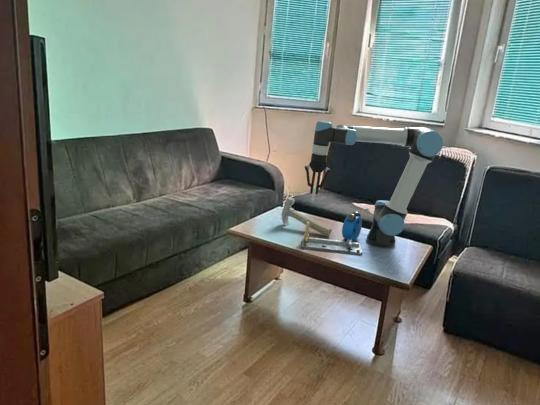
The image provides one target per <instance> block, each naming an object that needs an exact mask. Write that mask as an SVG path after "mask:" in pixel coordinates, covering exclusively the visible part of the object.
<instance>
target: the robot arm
mask: <svg viewBox="0 0 540 405" xmlns="http://www.w3.org/2000/svg"><path fill="white" fill-rule="evenodd" d="M356 142H361V143H376V144H378V143H379V144H391V145H392V144H393V145H401V146H402V147H405V148H406V147H408V148H410V149H409V150H408V154H409V159H408V161H407V163H406V165H405V167H404V170H403V172H402V174H401V176H400V178H399V180H398V182H397V185H396V187H395V188H394V191H393V194H392V196H391V197H390V200H383V199H382V200H381V199H380V200H376V201H375V204H374V210H373V217H372V222H371V223H372V224H371V227H370V230H369V232H368V233H367V235H366V239H365V241H366V242H367V243H368V244H370V245H372V246H374V247H378V248H384V249H385V248H393V247H395V246H396V242H397V241H396V236H397V235H399V234H400V233H402V231H403V230H404V228H405V219H406V217H407V215H408V213H409V212H408V209H407V208H408V206H409V204H410V202H411V199H412V197H413V195H414V193H415V192H416V188H417V187H418V184H419V182H420V180H421V178H422V176H423V175H424V172H425V170H426V169H427V165H428V164H430V163H432V162H433V160H434V158H435V156H437V155H438V154H439V153H440V152H441V151H442V150H443V147H444V141H443V137H442V135H441V134H440V133H439V132H438V131H436V130H434V129H432V128H429V127H426V126H420V127H419V126H418V127H414V126H413V127H408V126H407V127H406V126H404V127H403V128H392V127H391V128H390V127H376V126H374V127H373V126H360V125H359V126H358V125H357V126H356V125H346V124H337V125H336V126H333V123H332V122H330V121H325V120H317V122H316V124H315V129H314V136H313V144H312V149H311V151H312V153H311V156H310V157H311V158H310V162H309V164H307V165H304V170H305V173H306V180H307V181H306V182H307V183H306V184H307V186H308V187H310V190H309V194H311V199H310V200H311V201H312V202H315V200H316V195H318V193H319V189H320V188H323V186H324V184H325V182H326V179H327V178H328V175H329V173H330V172H331V168H329V167H327V166H328V165H327V161H328V155H327V154H328V153H329V147H330V143H332V144H340V145H346V146H348V145H349V146H353V145H355V144H356ZM310 169H311V171H312V175H311V176H312V177H311V179H310ZM324 171H325V172H324ZM323 172H324V175H323V177H322V179H321V175H322V173H323ZM316 173H317V174H316ZM316 175H317V178H316ZM315 179H316V186H314V185H315ZM320 181H321V182H320Z"/></svg>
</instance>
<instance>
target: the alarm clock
mask: <svg viewBox="0 0 540 405" xmlns="http://www.w3.org/2000/svg"><path fill="white" fill-rule="evenodd" d="M361 216H362V214H361V212H359V211H353V212H352V213H349V214H347V216H346V217H345V219H344V222H343V225H342V229H341V235H342V238H344V239H343V241H345V240H347V239H352V242H354V241H356V240H357V239H358V238H359V237H360V233H361V232H362V226H363V219H362V217H361Z"/></svg>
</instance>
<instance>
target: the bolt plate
mask: <svg viewBox="0 0 540 405" xmlns="http://www.w3.org/2000/svg"><path fill="white" fill-rule="evenodd" d="M301 239H302V240H301V249H305V250H314V251H323V252H331V253H340V254H341V253H342V254H350V255H358V256H363V250H362V246H361V244H359V247H356V246H351V249H350V248H349V246H347V245H338V244H329V243H320V242H311V241H307V244H305V241H304V237H303V238H301Z"/></svg>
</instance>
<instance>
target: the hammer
mask: <svg viewBox="0 0 540 405" xmlns="http://www.w3.org/2000/svg"><path fill="white" fill-rule="evenodd" d="M295 202H296V200H295V198H293V197H289V196H288V197H287V198H286V199H285V205H284V206H283V208H282V211H281V214H280V216H281V220H282V223H283V225H284V226H285V227H287V226H289V225H290V222H289V217H291V218H293V219H295V220H296V221H299V222H300V223H301V224H304V225H305V226H306V223H307V222H310V225H309V229H311V230H314V231H316V232H317V233H319V234H322V236H324V237H327V238H328V237H330V235H331V233H332V228H331V227H328V226H327V225H324V224H322V223H320V222H318V221H317V220H315V219H312V218H310V217H308V216H306V215H304V214H302V213H300V212H298V211H296V210H295V208H293V207H292V205H294V204H295Z"/></svg>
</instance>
